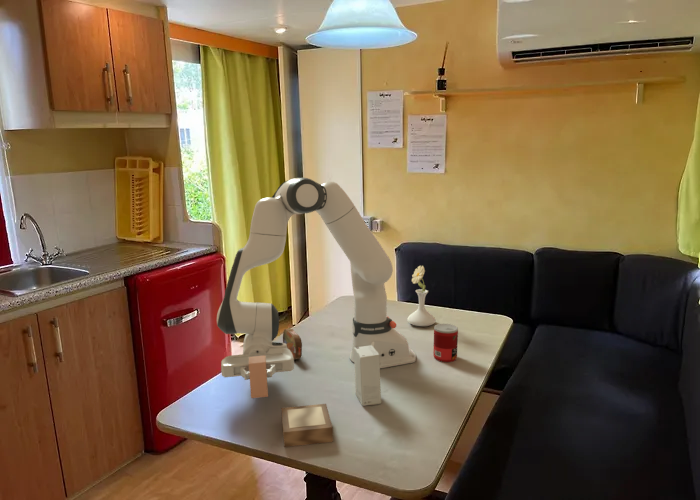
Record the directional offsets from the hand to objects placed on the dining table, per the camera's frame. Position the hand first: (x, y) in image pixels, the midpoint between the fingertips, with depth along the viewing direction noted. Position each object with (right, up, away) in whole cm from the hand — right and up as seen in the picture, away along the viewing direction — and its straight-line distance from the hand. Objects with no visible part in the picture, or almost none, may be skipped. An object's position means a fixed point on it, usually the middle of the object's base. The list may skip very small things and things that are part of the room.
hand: (258, 376), depth 142 cm
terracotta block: (0, -5, +2) cm, 6 cm away
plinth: (+14, -13, -6) cm, 20 cm away
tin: (+5, -3, +42) cm, 42 cm away
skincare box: (+30, -9, +10) cm, 33 cm away
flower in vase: (+53, +4, +70) cm, 88 cm away
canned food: (+57, -3, +38) cm, 69 cm away
